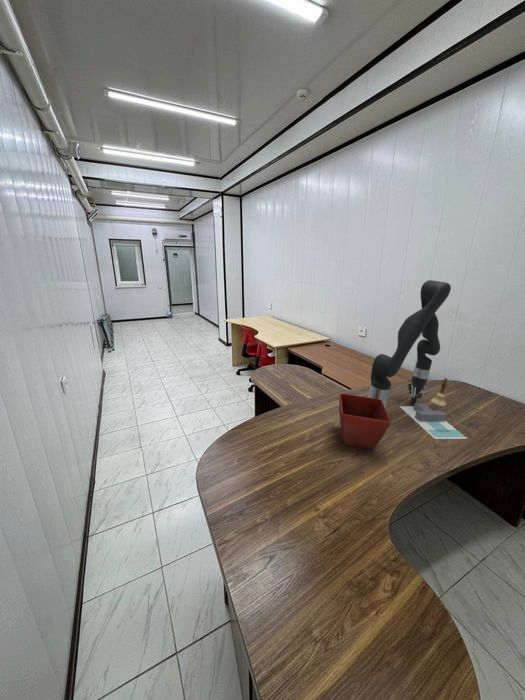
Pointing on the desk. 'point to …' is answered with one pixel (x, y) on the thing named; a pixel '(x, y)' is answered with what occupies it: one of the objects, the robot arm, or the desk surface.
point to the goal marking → (443, 430)
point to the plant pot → (362, 420)
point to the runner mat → (426, 426)
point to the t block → (428, 413)
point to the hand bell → (440, 395)
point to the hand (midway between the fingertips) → (412, 402)
